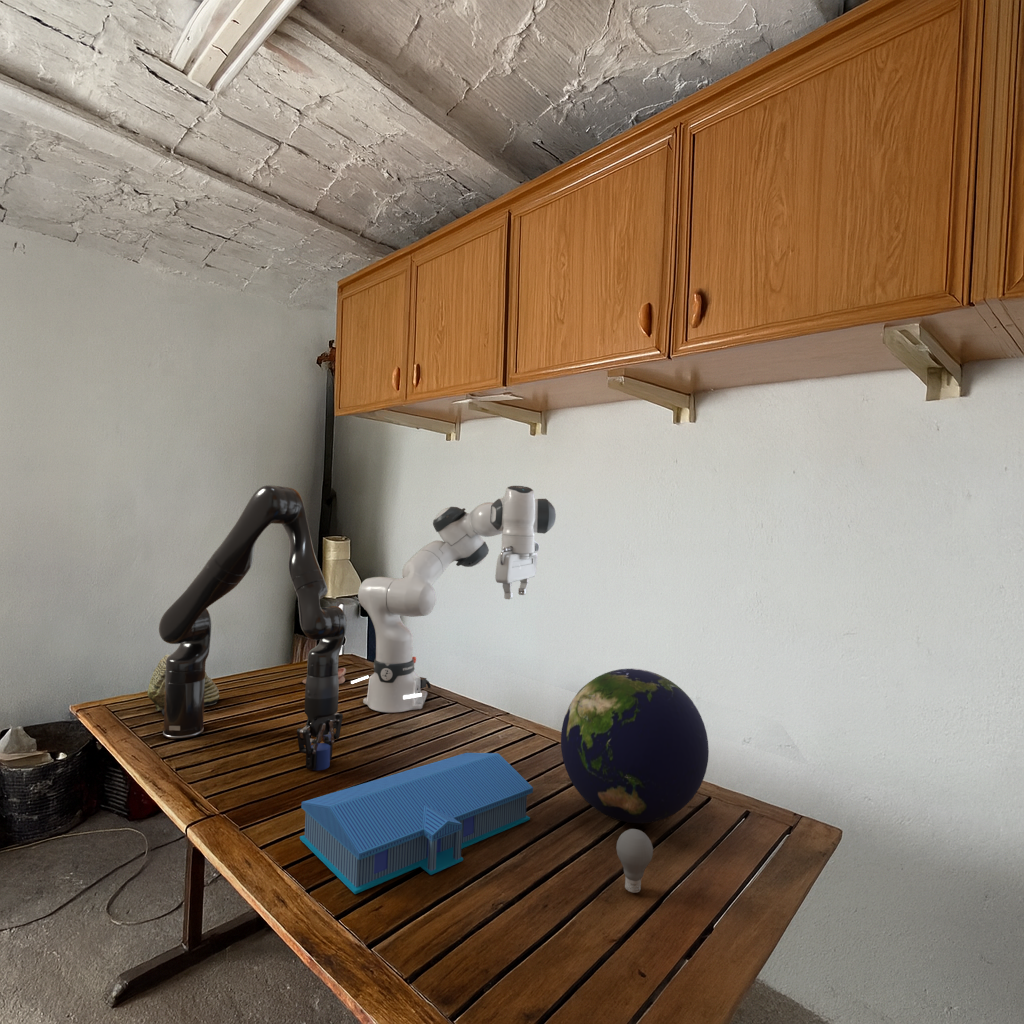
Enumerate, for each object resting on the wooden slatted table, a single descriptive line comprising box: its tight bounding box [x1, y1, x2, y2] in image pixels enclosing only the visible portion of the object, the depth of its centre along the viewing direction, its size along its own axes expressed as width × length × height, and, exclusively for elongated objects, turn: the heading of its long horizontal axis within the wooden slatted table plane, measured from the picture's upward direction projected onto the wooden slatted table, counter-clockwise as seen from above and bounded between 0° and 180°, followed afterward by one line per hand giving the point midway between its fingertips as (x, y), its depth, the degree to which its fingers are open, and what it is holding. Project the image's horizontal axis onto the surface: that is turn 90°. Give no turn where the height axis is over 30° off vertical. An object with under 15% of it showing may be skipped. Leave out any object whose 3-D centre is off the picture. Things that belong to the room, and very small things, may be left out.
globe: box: [560, 668, 710, 824], centre depth 131 cm, size 30×30×30 cm
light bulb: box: [615, 828, 654, 894], centre depth 106 cm, size 6×6×10 cm
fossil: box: [147, 654, 221, 712], centre depth 185 cm, size 9×18×15 cm, turn 132°
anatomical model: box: [301, 667, 347, 685], centre depth 214 cm, size 13×4×12 cm
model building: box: [299, 752, 534, 895], centre depth 121 cm, size 39×24×10 cm, turn 132°
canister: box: [311, 742, 331, 771], centre depth 149 cm, size 5×5×5 cm
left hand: (319, 763), depth 149 cm, fingers open, 5 cm apart
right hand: (515, 596), depth 171 cm, fingers open, 8 cm apart
